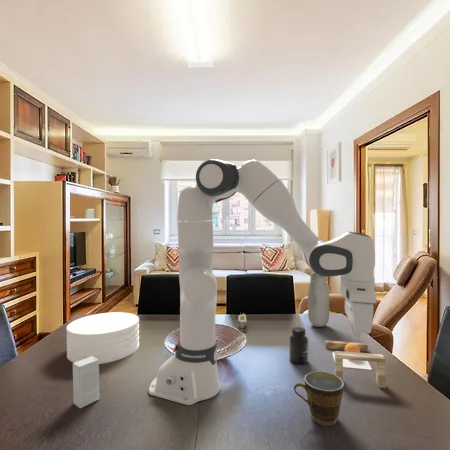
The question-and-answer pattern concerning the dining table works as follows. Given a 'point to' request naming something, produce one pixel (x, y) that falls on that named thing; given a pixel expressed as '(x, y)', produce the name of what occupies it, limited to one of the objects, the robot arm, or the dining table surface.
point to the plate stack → (103, 337)
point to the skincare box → (86, 381)
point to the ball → (352, 348)
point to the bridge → (363, 357)
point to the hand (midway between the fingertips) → (355, 338)
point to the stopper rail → (342, 345)
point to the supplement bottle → (298, 346)
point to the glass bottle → (318, 300)
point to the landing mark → (355, 363)
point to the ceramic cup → (323, 396)
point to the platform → (242, 319)
